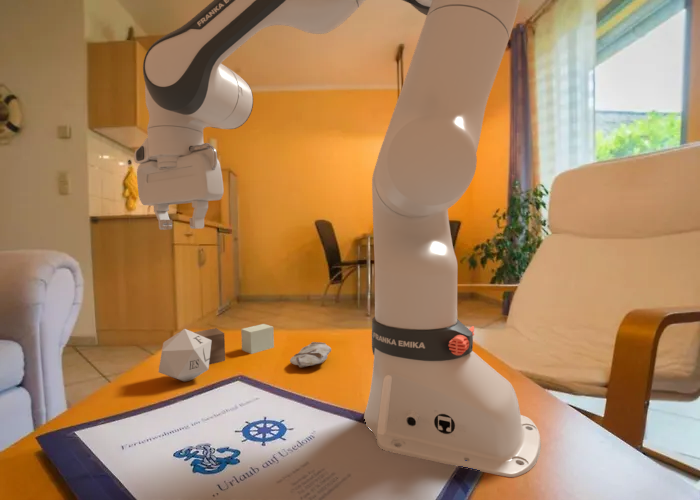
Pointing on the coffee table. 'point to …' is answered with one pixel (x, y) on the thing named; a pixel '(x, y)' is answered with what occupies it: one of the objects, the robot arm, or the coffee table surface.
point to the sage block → (257, 338)
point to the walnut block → (215, 344)
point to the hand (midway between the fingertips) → (180, 229)
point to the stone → (311, 354)
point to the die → (185, 355)
